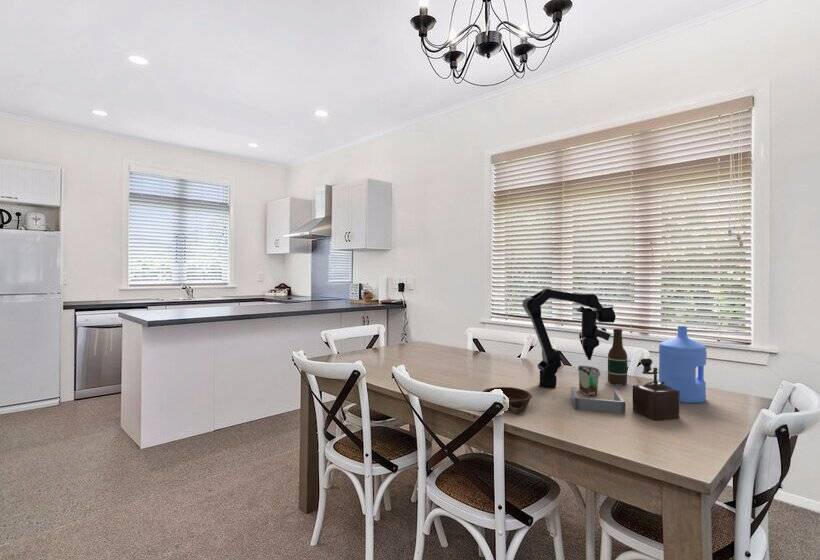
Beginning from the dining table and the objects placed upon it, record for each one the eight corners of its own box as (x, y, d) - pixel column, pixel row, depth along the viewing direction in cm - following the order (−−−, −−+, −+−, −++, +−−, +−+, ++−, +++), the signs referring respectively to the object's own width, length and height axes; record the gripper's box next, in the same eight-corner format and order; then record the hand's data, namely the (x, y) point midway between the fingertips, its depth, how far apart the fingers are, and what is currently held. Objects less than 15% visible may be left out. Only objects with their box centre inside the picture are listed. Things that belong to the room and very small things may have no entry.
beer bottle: (631, 384, 183) (631, 329, 183) (618, 385, 180) (618, 330, 180) (616, 379, 190) (617, 327, 190) (603, 381, 187) (604, 328, 187)
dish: (514, 396, 167) (514, 383, 167) (544, 414, 145) (544, 400, 145) (473, 399, 163) (473, 386, 163) (497, 418, 142) (497, 403, 141)
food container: (605, 397, 164) (606, 372, 163) (590, 397, 164) (590, 372, 164) (592, 388, 176) (592, 365, 176) (578, 388, 176) (578, 365, 176)
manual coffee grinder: (682, 418, 140) (683, 365, 140) (654, 421, 138) (655, 367, 138) (646, 404, 156) (647, 356, 155) (621, 406, 153) (621, 357, 153)
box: (574, 409, 150) (575, 398, 150) (571, 396, 165) (571, 386, 164) (625, 413, 145) (625, 402, 145) (617, 400, 160) (617, 390, 160)
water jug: (664, 402, 158) (665, 328, 157) (653, 390, 173) (654, 323, 172) (712, 405, 153) (713, 330, 153) (697, 393, 168) (698, 324, 168)
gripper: (613, 325, 169) (612, 364, 169) (605, 320, 187) (605, 355, 187) (583, 324, 172) (582, 362, 172) (579, 319, 190) (578, 353, 190)
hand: (588, 358), depth 180 cm, fingers open, 7 cm apart
